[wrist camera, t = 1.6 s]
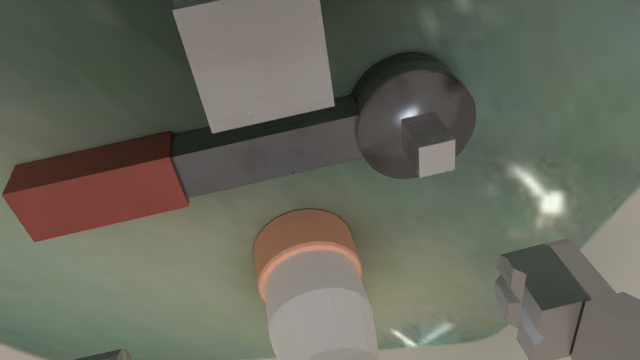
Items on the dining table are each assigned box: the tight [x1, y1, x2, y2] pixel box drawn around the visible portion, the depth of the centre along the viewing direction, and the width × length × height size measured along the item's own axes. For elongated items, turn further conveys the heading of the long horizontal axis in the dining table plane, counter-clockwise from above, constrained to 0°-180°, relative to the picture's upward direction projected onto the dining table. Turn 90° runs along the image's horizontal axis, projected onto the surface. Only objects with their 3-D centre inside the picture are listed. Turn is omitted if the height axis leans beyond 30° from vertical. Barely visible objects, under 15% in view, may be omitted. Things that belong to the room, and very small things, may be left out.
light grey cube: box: [172, 0, 335, 133], centre depth 24 cm, size 6×6×7 cm
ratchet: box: [2, 52, 476, 242], centre depth 29 cm, size 7×26×6 cm, turn 99°
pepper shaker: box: [253, 209, 379, 360], centre depth 31 cm, size 7×7×19 cm
